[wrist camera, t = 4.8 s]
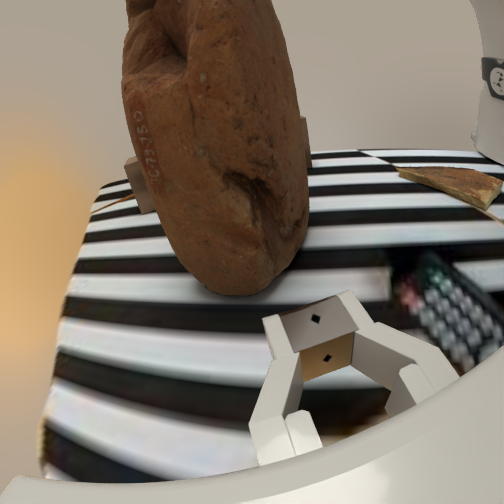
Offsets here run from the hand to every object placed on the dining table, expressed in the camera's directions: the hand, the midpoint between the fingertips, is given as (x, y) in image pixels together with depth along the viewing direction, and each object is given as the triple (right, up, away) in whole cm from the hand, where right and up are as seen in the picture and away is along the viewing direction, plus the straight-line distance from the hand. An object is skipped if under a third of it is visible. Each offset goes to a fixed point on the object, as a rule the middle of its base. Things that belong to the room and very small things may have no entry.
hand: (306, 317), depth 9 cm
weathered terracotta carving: (-2, +2, +12) cm, 13 cm away
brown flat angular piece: (+18, +8, +15) cm, 25 cm away
